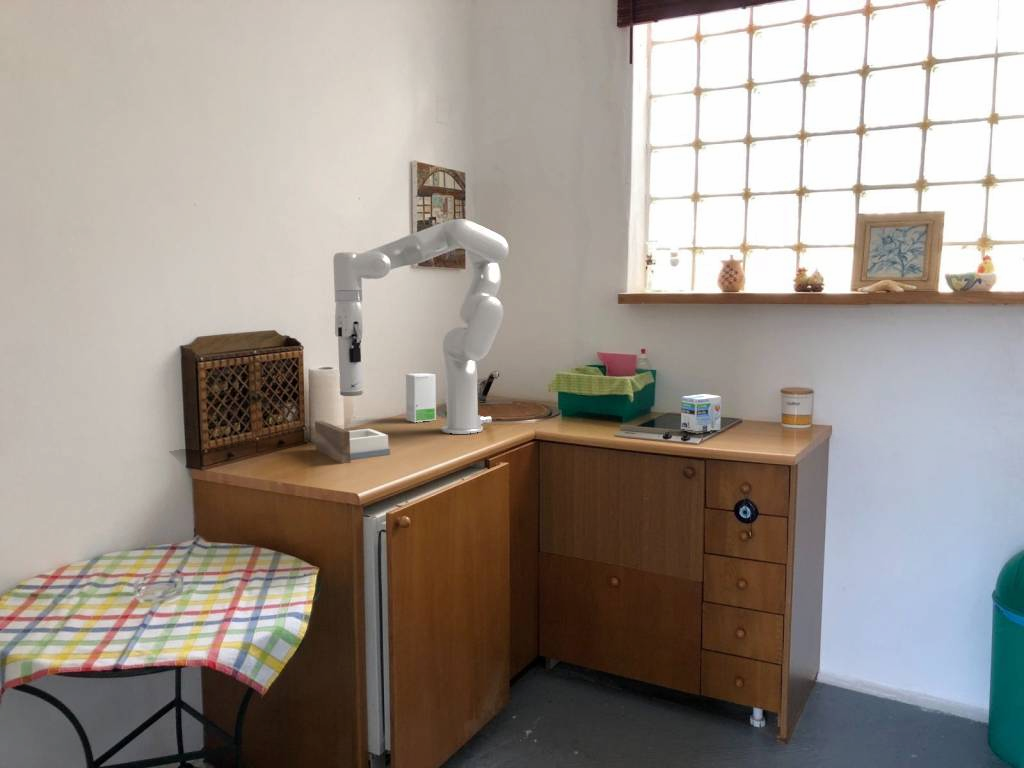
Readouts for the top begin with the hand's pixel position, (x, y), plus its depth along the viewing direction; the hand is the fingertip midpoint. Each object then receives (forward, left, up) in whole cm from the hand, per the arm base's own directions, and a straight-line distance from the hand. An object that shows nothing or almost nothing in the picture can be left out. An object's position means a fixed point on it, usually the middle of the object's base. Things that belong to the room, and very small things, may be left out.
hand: (350, 360), depth 224 cm
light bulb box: (-93, +44, -24) cm, 106 cm away
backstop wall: (+12, +14, -24) cm, 30 cm away
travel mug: (0, 0, -10) cm, 10 cm away
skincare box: (-32, -22, -24) cm, 46 cm away
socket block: (+4, +14, -23) cm, 28 cm away
